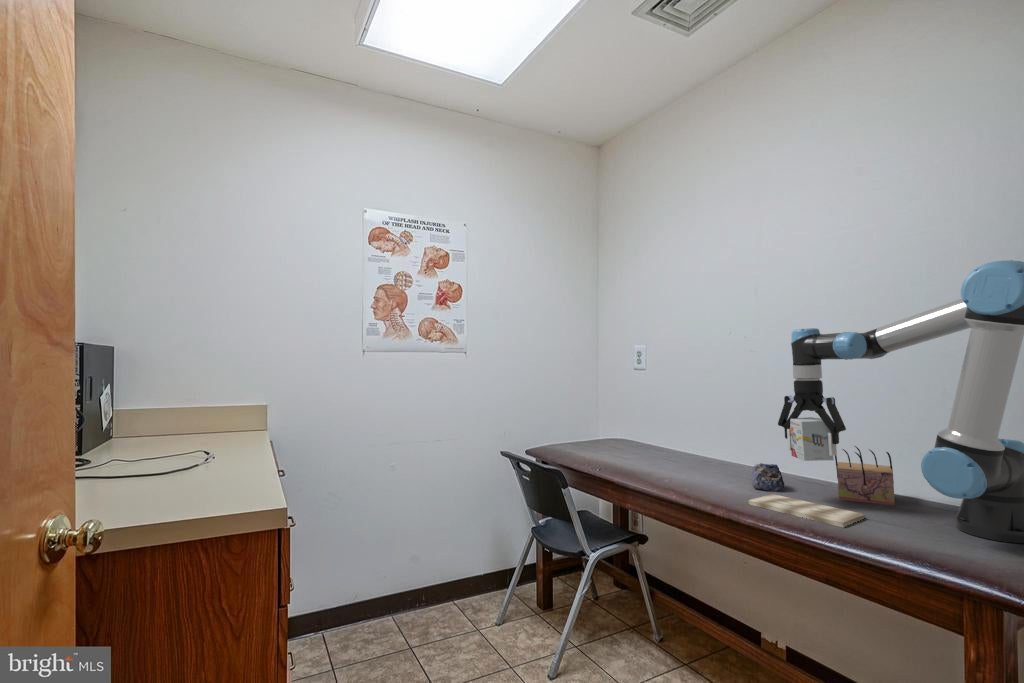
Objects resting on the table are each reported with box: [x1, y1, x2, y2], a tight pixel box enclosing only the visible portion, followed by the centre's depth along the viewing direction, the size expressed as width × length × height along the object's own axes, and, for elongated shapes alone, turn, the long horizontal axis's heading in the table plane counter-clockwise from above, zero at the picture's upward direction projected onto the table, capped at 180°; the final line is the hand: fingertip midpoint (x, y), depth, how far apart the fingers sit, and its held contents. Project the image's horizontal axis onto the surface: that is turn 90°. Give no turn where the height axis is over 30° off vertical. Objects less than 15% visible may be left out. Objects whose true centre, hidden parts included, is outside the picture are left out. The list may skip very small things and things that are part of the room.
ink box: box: [790, 416, 835, 462], centre depth 152 cm, size 9×9×12 cm
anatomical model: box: [834, 445, 896, 506], centre depth 155 cm, size 16×11×15 cm
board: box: [747, 493, 867, 528], centre depth 143 cm, size 26×12×1 cm, turn 32°
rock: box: [750, 462, 785, 492], centre depth 169 cm, size 11×10×10 cm
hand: (811, 452), depth 151 cm, fingers closed on ink box, 11 cm apart
